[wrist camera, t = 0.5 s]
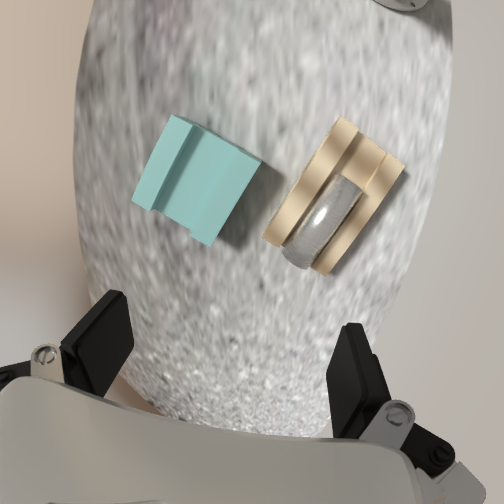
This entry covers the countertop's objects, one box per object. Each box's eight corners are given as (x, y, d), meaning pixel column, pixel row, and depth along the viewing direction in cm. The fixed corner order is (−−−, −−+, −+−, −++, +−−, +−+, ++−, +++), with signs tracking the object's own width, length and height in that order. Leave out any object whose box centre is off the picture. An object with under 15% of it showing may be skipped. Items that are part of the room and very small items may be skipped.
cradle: (182, 116, 33) (171, 114, 29) (262, 160, 34) (260, 163, 31) (144, 193, 37) (131, 200, 34) (216, 236, 39) (209, 247, 35)
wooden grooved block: (338, 118, 31) (342, 116, 29) (398, 164, 32) (405, 166, 30) (263, 232, 38) (262, 237, 36) (323, 269, 39) (325, 276, 37)
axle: (333, 169, 33) (339, 172, 29) (359, 188, 33) (367, 193, 30) (282, 245, 38) (281, 256, 34) (306, 261, 38) (308, 273, 34)
